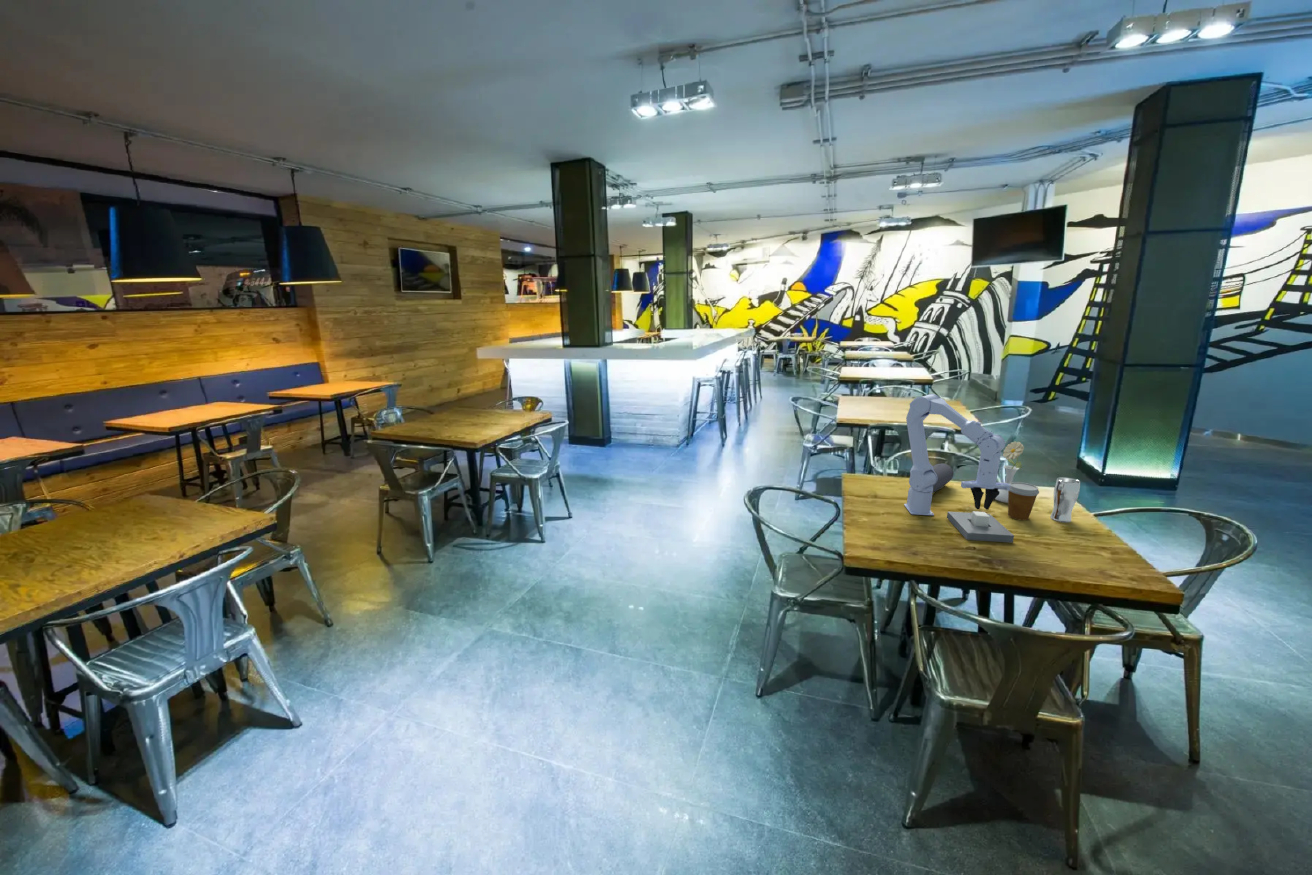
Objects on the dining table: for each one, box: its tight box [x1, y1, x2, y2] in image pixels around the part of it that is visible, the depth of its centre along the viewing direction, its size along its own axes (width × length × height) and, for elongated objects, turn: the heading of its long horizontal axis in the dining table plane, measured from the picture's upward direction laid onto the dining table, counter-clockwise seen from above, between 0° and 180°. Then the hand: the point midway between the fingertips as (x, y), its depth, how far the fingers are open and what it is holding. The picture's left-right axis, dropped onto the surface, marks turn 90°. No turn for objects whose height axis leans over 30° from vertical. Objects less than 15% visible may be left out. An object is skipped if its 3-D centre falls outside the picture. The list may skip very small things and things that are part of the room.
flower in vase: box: [994, 440, 1025, 504], centre depth 201 cm, size 13×11×25 cm
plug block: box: [970, 510, 990, 527], centre depth 178 cm, size 4×4×6 cm
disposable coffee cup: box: [1007, 481, 1040, 521], centre depth 188 cm, size 10×10×12 cm
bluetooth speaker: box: [932, 462, 954, 494], centre depth 215 cm, size 23×9×10 cm, turn 133°
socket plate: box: [946, 511, 1015, 544], centre depth 179 cm, size 18×14×2 cm
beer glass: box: [1050, 476, 1081, 524], centre depth 185 cm, size 7×7×15 cm
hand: (981, 508), depth 177 cm, fingers open, 2 cm apart
